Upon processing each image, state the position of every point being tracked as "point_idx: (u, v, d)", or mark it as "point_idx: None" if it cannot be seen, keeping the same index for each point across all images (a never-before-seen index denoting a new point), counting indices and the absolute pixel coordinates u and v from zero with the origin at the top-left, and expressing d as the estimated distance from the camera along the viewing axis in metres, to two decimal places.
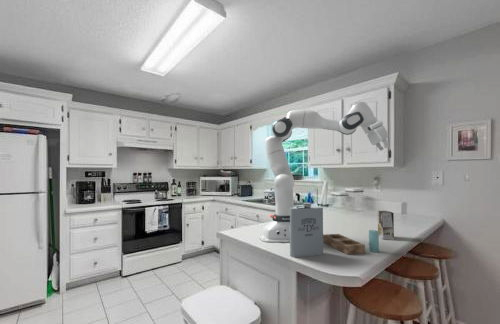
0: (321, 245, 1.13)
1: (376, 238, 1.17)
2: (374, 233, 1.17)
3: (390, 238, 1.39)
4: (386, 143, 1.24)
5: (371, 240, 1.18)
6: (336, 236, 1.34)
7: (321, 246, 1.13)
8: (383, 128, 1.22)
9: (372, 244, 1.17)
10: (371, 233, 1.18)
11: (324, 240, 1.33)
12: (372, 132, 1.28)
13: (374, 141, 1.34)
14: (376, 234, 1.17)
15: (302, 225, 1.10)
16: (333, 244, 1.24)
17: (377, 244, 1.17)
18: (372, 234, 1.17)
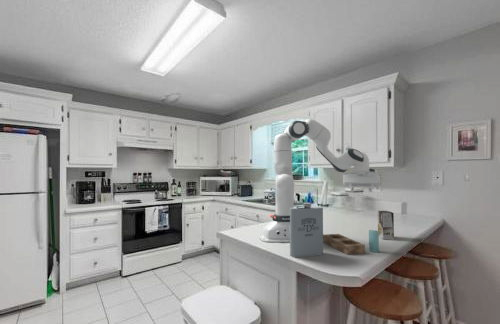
0: (321, 245, 1.13)
1: (376, 238, 1.17)
2: (374, 233, 1.17)
3: (390, 238, 1.39)
4: (372, 188, 1.33)
5: (371, 240, 1.18)
6: (336, 236, 1.34)
7: (321, 246, 1.13)
8: None
9: (372, 244, 1.17)
10: (371, 233, 1.18)
11: (324, 240, 1.33)
12: (369, 174, 1.38)
13: (356, 180, 1.38)
14: (376, 234, 1.17)
15: (302, 225, 1.10)
16: (333, 244, 1.24)
17: (377, 244, 1.17)
18: (373, 234, 1.17)
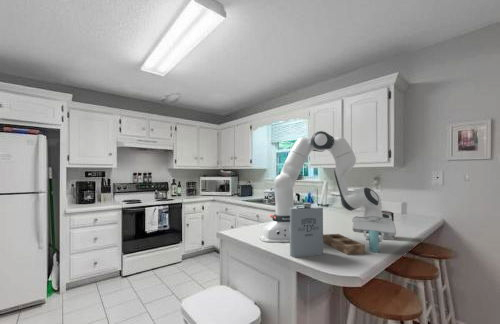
0: (321, 245, 1.13)
1: (376, 238, 1.17)
2: (374, 233, 1.17)
3: (390, 238, 1.39)
4: (382, 237, 1.18)
5: (371, 240, 1.18)
6: (336, 236, 1.34)
7: (321, 246, 1.13)
8: None
9: (372, 244, 1.17)
10: (371, 233, 1.18)
11: (324, 240, 1.33)
12: (382, 220, 1.22)
13: (368, 227, 1.23)
14: (376, 234, 1.17)
15: (302, 225, 1.10)
16: (333, 244, 1.24)
17: (377, 244, 1.17)
18: (372, 234, 1.17)
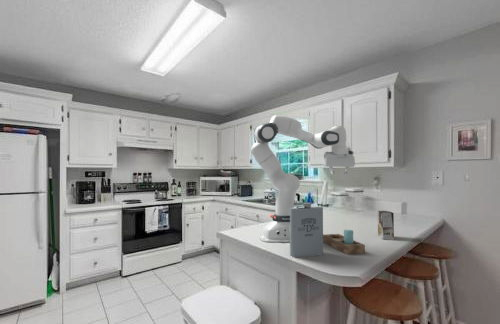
0: (321, 245, 1.13)
1: (350, 237, 1.18)
2: (348, 232, 1.18)
3: (390, 238, 1.39)
4: None
5: (346, 239, 1.18)
6: (336, 236, 1.34)
7: (321, 246, 1.13)
8: None
9: (347, 243, 1.18)
10: (346, 233, 1.19)
11: (324, 240, 1.33)
12: (347, 156, 1.45)
13: (337, 163, 1.43)
14: (350, 233, 1.18)
15: (302, 225, 1.10)
16: (333, 244, 1.24)
17: (351, 243, 1.17)
18: (347, 234, 1.18)
